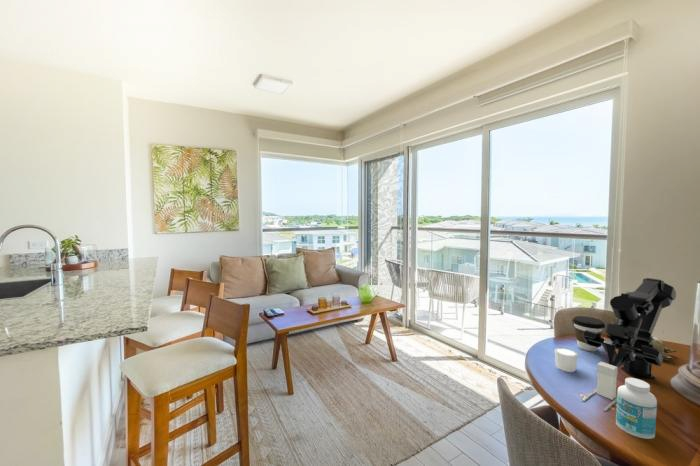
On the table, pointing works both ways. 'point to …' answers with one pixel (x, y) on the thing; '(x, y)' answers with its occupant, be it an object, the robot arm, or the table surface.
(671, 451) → the table surface
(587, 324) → the coffee cup
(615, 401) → the console
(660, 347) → the ceramic sculpture
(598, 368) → the fader tab
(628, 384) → the pill bottle
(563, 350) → the white cylinder
